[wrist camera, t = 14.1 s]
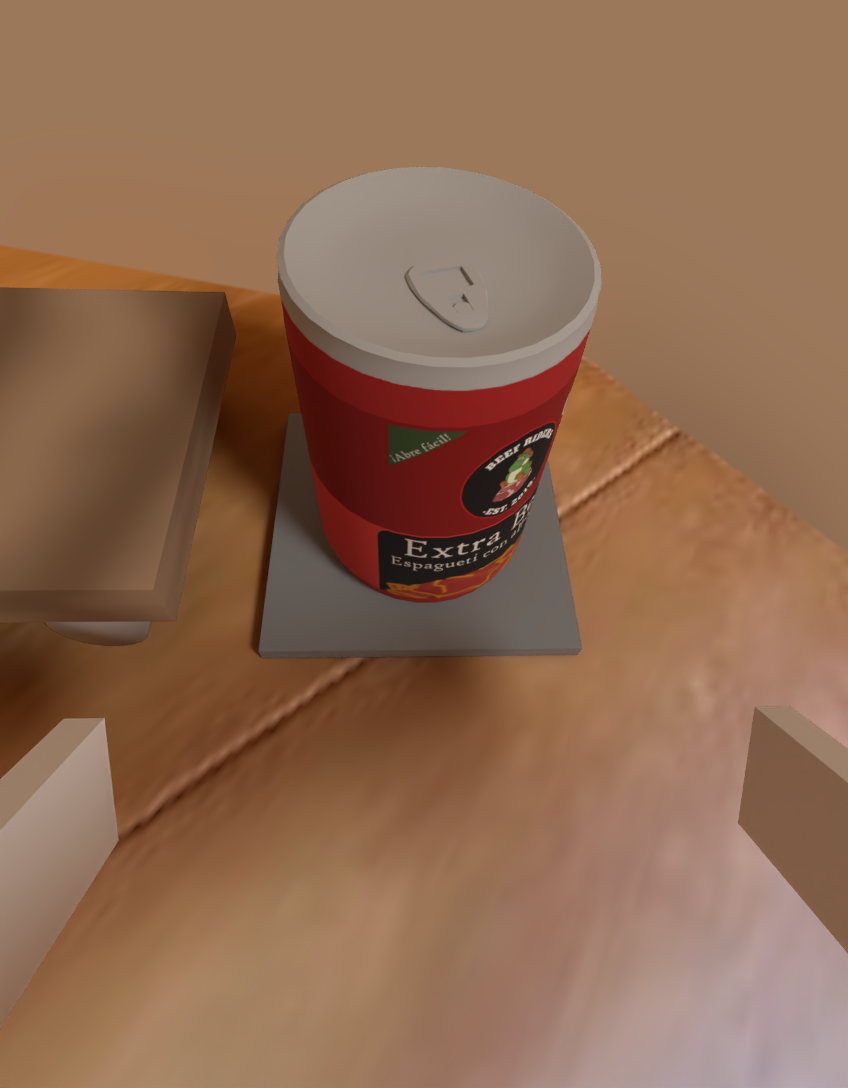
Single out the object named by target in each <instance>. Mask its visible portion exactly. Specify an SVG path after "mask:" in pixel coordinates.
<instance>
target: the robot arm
mask: <svg viewBox="0 0 848 1088" xmlns="http://www.w3.org/2000/svg"><path fill="white" fill-rule="evenodd" d="M738 823H739V824H740V826H741V827H742V828H743V829H744V830H745V832H746V833H747V834H748V835H749V836H750V838H751V839H752V840H753V841H754V842H755V843H756V845H757V846H758V847H759V848H760V849H761V851H762V852H763V853H764V854H765V855H766V857H767V858H768V859H769V860H770V861H771V862H772V864H773V865H774V866H775V867H776V868H777V870H778V871H779V872H780V873H781V874H782V876H783V877H784V878H785V879H786V880H787V882H788V883H789V884H790V885H791V886H792V887H793V889H794V890H795V891H796V892H797V893H798V895H799V896H800V897H801V898H802V899H803V901H804V902H805V903H806V904H807V905H808V906H809V908H810V909H811V910H812V911H813V912H814V914H815V915H816V916H817V917H818V918H819V920H820V921H821V922H822V923H823V924H824V925H825V927H826V928H827V929H828V930H829V931H830V933H831V934H832V935H833V936H834V937H835V939H836V940H837V941H838V942H839V943H840V944H841V946H842V947H843V948H844V949H845V950H846V952H847V953H848V748H846V747H845V746H844V745H842V744H841V743H839V742H838V741H837V740H835V739H834V738H833V737H831V736H830V735H829V734H827V733H826V732H825V731H823V730H822V729H821V728H819V727H818V726H817V725H815V724H814V723H812V722H811V721H810V720H808V719H807V718H806V717H804V716H803V715H802V714H800V713H799V712H798V711H796V710H795V709H794V708H792V707H791V706H765V707H755V709H754V716H753V722H752V729H751V736H750V743H749V750H748V757H747V764H746V771H745V778H744V785H743V792H742V799H741V805H740V812H739V819H738ZM118 841H119V840H118V831H117V823H116V814H115V805H114V797H113V788H112V780H111V771H110V762H109V754H108V745H107V737H106V728H105V719H104V718H74V719H63V720H62V721H61V722H60V723H59V724H58V725H57V726H56V727H55V728H53V729H52V730H51V731H50V732H49V733H48V734H47V735H46V736H45V737H44V738H43V739H42V740H41V741H40V742H39V743H38V744H37V745H36V746H35V747H33V748H32V749H31V750H30V751H29V752H28V753H27V754H26V755H25V756H24V757H23V758H22V759H21V760H20V761H19V762H18V763H17V764H16V765H15V766H13V767H12V768H11V769H10V770H9V771H8V772H7V773H6V774H5V775H4V776H3V777H2V778H1V779H0V1028H1V1027H2V1025H3V1023H4V1022H5V1020H6V1019H7V1017H8V1016H9V1014H10V1012H11V1011H12V1009H13V1008H14V1006H15V1004H16V1003H17V1001H18V1000H19V998H20V996H21V995H22V993H23V992H24V990H25V988H26V987H27V985H28V984H29V982H30V981H31V979H32V977H33V976H34V974H35V973H36V971H37V969H38V968H39V966H40V965H41V963H42V961H43V960H44V958H45V957H46V955H47V954H48V952H49V950H50V949H51V947H52V946H53V944H54V942H55V941H56V939H57V938H58V936H59V934H60V933H61V931H62V930H63V928H64V926H65V925H66V923H67V922H68V920H69V919H70V917H71V915H72V914H73V912H74V911H75V909H76V907H77V906H78V904H79V903H80V901H81V899H82V898H83V896H84V895H85V893H86V891H87V890H88V888H89V887H90V885H91V884H92V882H93V880H94V879H95V877H96V876H97V874H98V872H99V871H100V869H101V868H102V866H103V864H104V863H105V861H106V860H107V858H108V856H109V855H110V853H111V852H112V850H113V849H114V847H115V845H116V844H117V842H118Z"/></svg>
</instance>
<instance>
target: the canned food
mask: <svg viewBox="0 0 848 1088" xmlns="http://www.w3.org/2000/svg"><path fill="white" fill-rule="evenodd" d="M277 263H278V268H279V273H278V284H279V290H280V295H281V301H282V306H283V315H284V322H285V328H286V333H287V339H288V344H289V350H290V355H291V360H292V366H293V371H294V377H295V382H296V387H297V393H298V398H299V403H300V409H301V414H302V420H303V425H304V430H305V436H306V441H307V446H308V452H309V457H310V463H311V468H312V473H313V479H314V484H315V489H316V495H317V500H318V505H319V511H320V516H321V522H322V527H323V531H324V533H325V535H326V538H327V540H328V542H329V545H330V547H331V548H332V549H333V551H334V552H335V554H336V555H337V556H338V558H339V559H340V560H341V562H342V563H343V564H344V565H345V566H346V568H347V569H348V570H349V571H350V572H351V573H353V574H354V575H355V576H356V577H357V578H358V579H359V580H360V581H361V582H363V583H364V584H366V585H368V586H369V587H371V588H372V589H374V590H376V591H377V592H380V593H382V594H385V595H387V596H390V597H393V598H395V599H399V600H405V601H410V602H416V603H436V602H442V601H447V600H452V599H456V598H459V597H461V596H464V595H466V594H469V593H471V592H473V591H475V590H476V589H478V588H479V587H481V586H482V585H484V584H485V583H487V582H488V581H489V580H491V579H492V578H493V577H494V576H495V575H496V574H497V573H498V572H499V571H500V570H501V569H502V568H503V567H504V566H505V565H506V564H507V563H508V562H509V560H510V558H511V557H512V555H513V553H514V552H515V550H516V548H517V547H518V544H519V541H520V538H521V535H522V532H523V529H524V526H525V523H526V520H527V517H528V514H529V511H530V509H531V506H532V503H533V500H534V497H535V494H536V491H537V488H538V485H539V482H540V479H541V476H542V473H543V470H544V468H545V465H546V462H547V459H548V456H549V453H550V450H551V447H552V444H553V441H554V438H555V435H556V432H557V429H558V427H559V424H560V421H561V418H562V415H563V412H564V409H565V406H566V403H567V400H568V397H569V394H570V391H571V388H572V386H573V383H574V380H575V377H576V374H577V371H578V368H579V365H580V362H581V358H582V355H583V352H584V348H585V345H586V341H587V338H588V335H589V332H590V329H591V326H592V322H593V319H594V316H595V313H596V309H597V298H598V295H599V292H600V289H601V267H600V264H599V261H598V258H597V255H596V252H595V249H594V247H593V245H592V244H591V242H590V241H589V239H588V238H587V236H586V235H585V233H584V232H583V230H582V229H581V228H580V227H579V226H578V225H577V224H576V223H575V222H574V221H573V220H572V219H571V218H570V217H569V216H568V215H567V214H566V213H565V212H563V211H562V210H560V209H559V208H557V207H556V206H555V205H553V204H552V203H550V202H549V201H548V200H546V199H544V198H542V197H540V196H539V195H536V194H535V193H533V192H531V191H529V190H527V189H525V188H523V187H520V186H517V185H515V184H512V183H509V182H507V181H504V180H501V179H498V178H495V177H491V176H487V175H483V174H479V173H475V172H471V171H463V170H457V169H450V168H436V167H409V168H395V169H387V170H381V171H376V172H371V173H365V174H362V175H359V176H356V177H352V178H349V179H346V180H343V181H340V182H338V183H336V184H334V185H332V186H330V187H328V188H326V189H324V190H322V191H320V192H318V193H317V194H316V195H314V196H313V197H312V198H310V199H309V200H308V201H306V202H305V203H303V204H302V205H301V206H300V207H299V209H298V210H297V211H296V212H295V213H294V214H293V215H292V216H291V218H290V219H289V220H288V221H287V223H286V226H285V227H284V230H283V232H282V234H281V236H280V238H279V244H278V251H277Z"/></svg>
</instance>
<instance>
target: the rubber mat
mask: <svg viewBox="0 0 848 1088" xmlns="http://www.w3.org/2000/svg"><path fill="white" fill-rule="evenodd" d="M581 649H582V646H581V640H580V635H579V629H578V624H577V618H576V613H575V607H574V602H573V596H572V591H571V585H570V579H569V574H568V568H567V563H566V557H565V552H564V546H563V541H562V535H561V530H560V524H559V519H558V513H557V508H556V502H555V497H554V491H553V486H552V480H551V475H550V469H549V464H548V459H547V462H546V465H545V468H544V470H543V473H542V476H541V479H540V482H539V485H538V488H537V491H536V494H535V497H534V500H533V503H532V506H531V509H530V511H529V514H528V517H527V520H526V523H525V526H524V529H523V532H522V535H521V538H520V541H519V544H518V547H517V548H516V550H515V552H514V553H513V555H512V557H511V558H510V560H509V562H508V563H507V564H506V565H505V566H504V567H503V568H502V569H501V570H500V571H499V572H498V573H497V574H496V575H495V576H494V577H493V578H492V579H491V580H489V581H488V582H487V583H485V584H484V585H482V586H481V587H479V588H478V589H476V590H475V591H473V592H471V593H469V594H466V595H464V596H461V597H459V598H456V599H452V600H447V601H442V602H436V603H416V602H410V601H405V600H399V599H395V598H393V597H390V596H387V595H385V594H382V593H380V592H377V591H376V590H374V589H372V588H371V587H369V586H368V585H366V584H364V583H363V582H361V581H360V580H359V579H358V578H357V577H356V576H355V575H354V574H353V573H351V572H350V571H349V570H348V569H347V568H346V566H345V565H344V564H343V563H342V562H341V560H340V559H339V558H338V556H337V555H336V554H335V552H334V551H333V549H332V548H331V547H330V545H329V542H328V540H327V538H326V535H325V533H324V531H323V527H322V522H321V516H320V511H319V505H318V500H317V495H316V489H315V484H314V479H313V473H312V468H311V463H310V457H309V452H308V446H307V441H306V436H305V430H304V425H303V420H302V414H301V413H289V414H288V422H287V430H286V438H285V446H284V454H283V462H282V469H281V477H280V485H279V493H278V501H277V509H276V517H275V525H274V533H273V541H272V548H271V556H270V564H269V572H268V580H267V588H266V596H265V604H264V612H263V620H262V627H261V635H260V643H259V651H258V652H259V654H260V656H261V658H328V657H425V656H522V655H578V653H579V652H580V650H581Z"/></svg>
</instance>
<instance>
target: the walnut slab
mask: <svg viewBox="0 0 848 1088" xmlns="http://www.w3.org/2000/svg"><path fill="white" fill-rule="evenodd" d="M235 338H236V333H235V329H234V326H233V322H232V318H231V314H230V311H229V307H228V303H227V299H226V295H225V292H184V291H138V290H92V289H47V288H1V287H0V623H7V622H45V623H46V625H47V626H48V627H49V628H50V629H52V630H53V631H55V632H56V633H58V634H60V635H62V636H65V637H67V638H70V639H73V640H76V641H80V642H84V643H89V644H96V645H105V646H124V645H131V644H136V643H139V642H141V641H143V640H144V639H146V637H147V636H148V632H149V628H150V623H151V621H176V617H177V612H178V608H179V603H180V598H181V593H182V589H183V584H184V579H185V574H186V570H187V565H188V560H189V556H190V551H191V546H192V541H193V537H194V532H195V527H196V522H197V518H198V513H199V508H200V503H201V499H202V494H203V489H204V485H205V480H206V475H207V470H208V466H209V461H210V456H211V451H212V447H213V442H214V437H215V432H216V428H217V423H218V418H219V414H220V409H221V404H222V399H223V395H224V390H225V385H226V380H227V376H228V371H229V366H230V362H231V357H232V352H233V347H234V343H235Z"/></svg>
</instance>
